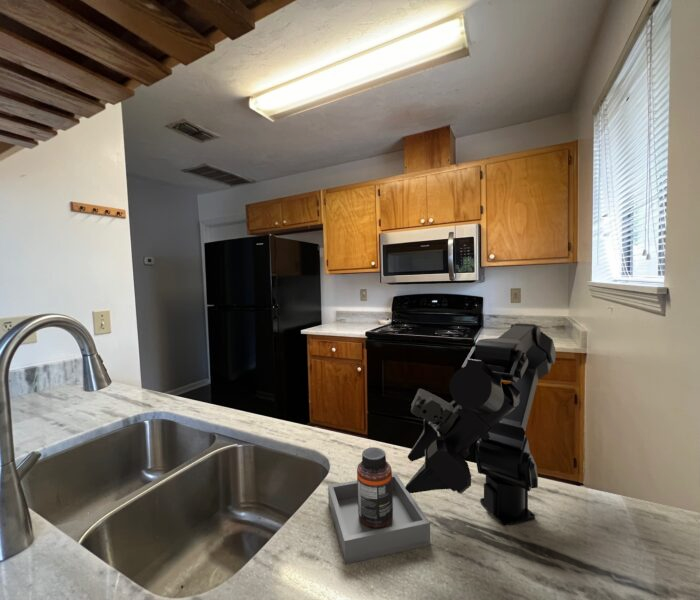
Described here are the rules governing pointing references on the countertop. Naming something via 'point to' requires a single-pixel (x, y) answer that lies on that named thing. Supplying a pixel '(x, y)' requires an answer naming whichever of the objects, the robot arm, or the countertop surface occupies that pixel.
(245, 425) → the countertop surface
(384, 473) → the supplement bottle
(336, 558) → the countertop surface
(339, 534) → the tray
